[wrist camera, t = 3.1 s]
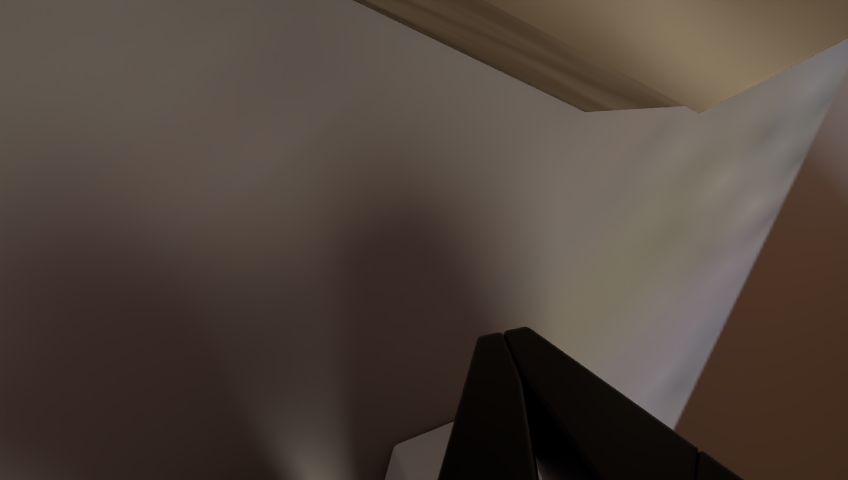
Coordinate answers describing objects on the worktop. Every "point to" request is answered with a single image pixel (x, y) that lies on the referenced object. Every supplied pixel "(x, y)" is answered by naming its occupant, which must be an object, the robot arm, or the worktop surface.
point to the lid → (691, 39)
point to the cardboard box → (523, 53)
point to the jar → (420, 456)
